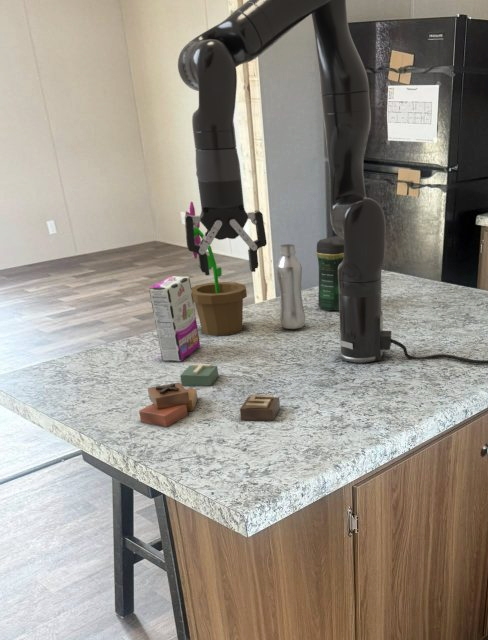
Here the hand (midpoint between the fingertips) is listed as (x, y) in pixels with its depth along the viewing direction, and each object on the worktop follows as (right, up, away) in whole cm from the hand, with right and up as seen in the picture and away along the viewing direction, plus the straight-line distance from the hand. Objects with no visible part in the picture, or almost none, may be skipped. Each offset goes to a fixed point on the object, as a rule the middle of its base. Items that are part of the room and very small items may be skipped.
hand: (230, 272), depth 131 cm
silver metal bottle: (+7, +2, +48) cm, 48 cm away
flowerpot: (-11, +2, +48) cm, 49 cm away
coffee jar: (+17, +12, +65) cm, 68 cm away
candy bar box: (-17, -8, +31) cm, 37 cm away
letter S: (+6, -27, -1) cm, 27 cm away
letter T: (-9, -17, +15) cm, 25 cm away
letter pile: (-11, -26, +1) cm, 28 cm away
